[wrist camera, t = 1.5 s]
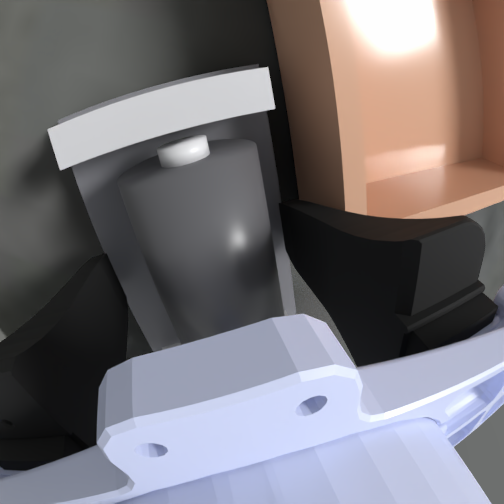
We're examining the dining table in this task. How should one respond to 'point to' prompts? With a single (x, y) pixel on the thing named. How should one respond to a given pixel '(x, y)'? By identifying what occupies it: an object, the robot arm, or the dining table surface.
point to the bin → (394, 103)
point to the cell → (205, 234)
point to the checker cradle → (145, 146)
